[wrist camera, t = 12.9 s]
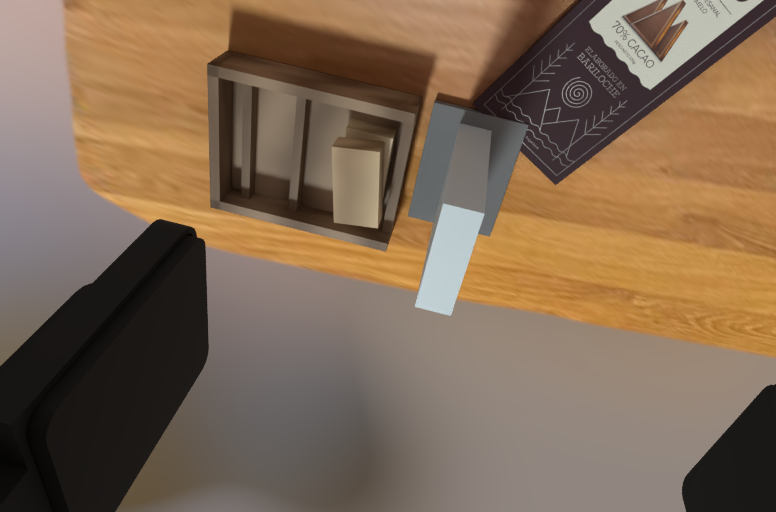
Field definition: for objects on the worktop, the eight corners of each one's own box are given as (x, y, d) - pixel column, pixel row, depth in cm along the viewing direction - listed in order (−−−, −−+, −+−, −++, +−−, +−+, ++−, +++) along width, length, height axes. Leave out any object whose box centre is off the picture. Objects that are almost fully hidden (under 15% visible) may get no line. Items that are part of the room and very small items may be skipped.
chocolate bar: (472, 104, 40) (710, -123, 31) (473, 100, 41) (705, -123, 31) (555, 185, 43) (799, -2, 33) (554, 179, 43) (793, -6, 34)
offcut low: (397, 129, 42) (393, 138, 40) (382, 207, 46) (377, 218, 45) (352, 118, 42) (346, 127, 41) (341, 196, 46) (335, 207, 45)
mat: (528, 121, 41) (528, 125, 40) (490, 232, 47) (489, 236, 46) (435, 99, 41) (434, 102, 41) (408, 212, 47) (407, 216, 47)
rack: (422, 96, 41) (415, 113, 38) (393, 228, 48) (385, 251, 45) (227, 50, 42) (207, 63, 39) (228, 187, 49) (210, 207, 46)
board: (491, 130, 41) (484, 213, 31) (463, 220, 46) (450, 315, 36) (459, 123, 41) (443, 203, 31) (435, 213, 46) (414, 306, 36)
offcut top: (384, 141, 41) (379, 151, 39) (382, 216, 44) (377, 228, 43) (338, 136, 41) (331, 146, 40) (339, 211, 45) (333, 222, 43)
